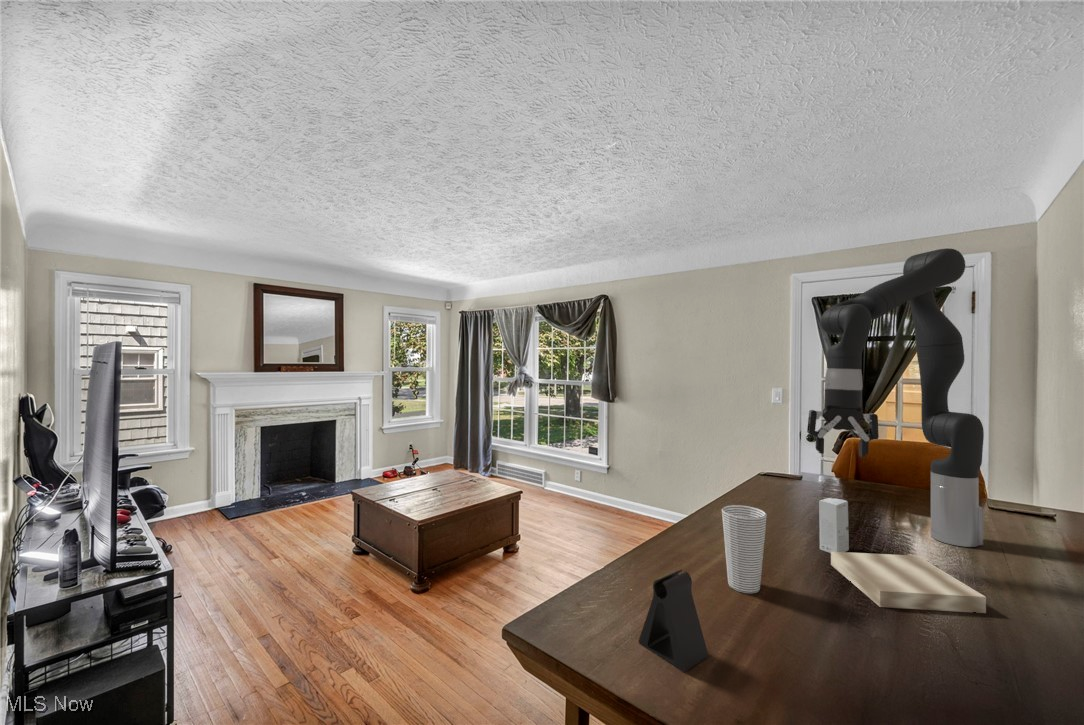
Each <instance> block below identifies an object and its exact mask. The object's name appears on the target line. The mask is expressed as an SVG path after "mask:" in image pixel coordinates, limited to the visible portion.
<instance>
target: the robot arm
mask: <svg viewBox="0 0 1084 725" xmlns="http://www.w3.org/2000/svg"><path fill="white" fill-rule="evenodd" d="M965 260H966V259H965V258H964V255H963V254H962V252H960V251H959V250H957V249H955V248H948V247H947V248H940V249H939V248H938V249H935V250H930V251H926V252H922V253H917V254H914V255H911V256H909V257H908V258H907V259H906V260H905V261H904V263H903V268H902V272H903V273H902V275H901V276H897V277H894V278H891V279H889V280H886V281H883V282H882V283H879V284H876V285H875V286H873V287H871V288H869V289H868V290H866V291H864V292H862V293H861V294H859V295H857V296H855V297H852V298H849V299H846V300H844V301H842V302H839V303H837V304H835V305H832V306H830V307H828V308H827V309H826V310H825V311H824V312H823V314H822V315H821V318H820V322H819V323H820V327H821V329H822V331H824V333H826V334H828V335H832V336H841V335H842V337H841V339H840V341H839V342H838V343H835V344H832V345H830V346H829V347H828V348H827V354H826V372H825V376H824V377H825V378H824V399H823V400H824V401H823V402H824V404H823V406H824V407H823V410H822V411H820V410H815V409H810V410H809V411H808V419H807V428H806V432H807V433H808V434H809V435H810V436H814V437H815V450H816V451H817V452H818V453H819V454H821V455H823V454H824V453H825V438H824V436H825V435H827V433H829V432H831V430H832V429H834V430H837V431H839V430H840V431H841V430H845V431H853V432H854V433H855V434H856V435H857V436H858V438H859V439H860V440H859V441H858V456H859V457H861V458H866V456H868V454H869V445H870V444H869V442H871V441H872V440H878V439H879V435H880V434H879V417H878V414H877V413H876V414H875V413H873V412H870V413H863V412H862V408H863V407H862V405H863V387H864V385H863V384H864V383H863V374H862V372H863V371H862V365H863V363H862V362H863V359H862V358H863V357H862V356H863V350H864V348H865V345H866V343H867V340H868V337H869V335H870V331H871V328H872V324H873V323H872V321H873V320H877V319H878V318H881V317H883V316H884V315H886V314H887V313H889V312H891V311H893V310H894V309H896V308H898V307H899V306H901V305H903V304H905V303H907V302H909V306H910V310H911V316H912V322H913V329H914V330H913V331H914V337H915V347H916V348H915V349H916V357H917V364H918V369H919V370H918V371H919V380H920V381H919V382H920V391H921V430H922V434H923V437H924V438H925V440H926V441H928V443H929V444H931V445H936V446H940V447H946V448H950V453H949V456H947V457H945V458H939V459H934V460H932V461H931V462H930V537H931V538H932V539H934V540H937V541H938V542H942V543H945V544H948V545H952V546H959V547H966V548H975V547H978V546H984V508H983V507H982V506H980V504H979V503H980V500H979V498H980V497H979V496H980V495H979V485H980V484H979V480H980V479H979V477H980V476H979V473H980V470H981V466H982V463H983V450H984V449H983V448H984V440H985V438H984V436H985V434H984V433H985V432H984V426H983V423H982V421H981V420H980V418H979V417H978V416H977V415H975V414H972V413H966V412H965V413H964V412H955V411H950V409H949V404H948V403H949V401H948V399H949V398H948V395H949V392H950V388H951V386H952V384H953V383H954V381H955V380H956V378H957V377H958V375H959V373H960V372H961V371H962V369H963V366H964V363H965V351H964V341H963V336H962V333H961V331H960V330H959V329H958V328H957V327H956V325H955V324H954V323H953V322H952V321H951V320H950V319H949V318H948V317H947V316H946V314H945V313H943V311H942V310H941V309H940V307H939V305H938V304H937V300H936V298H935V293H934V290H936V289H938V288H941V287H943V286H944V287H945V286H947V285H950V284H954V283H956V282H957V281H958V280H960V279H961V278H962V276H963V275H964V273H965V270H966V261H965ZM821 417H822V418H823V419H824V421H825V422H824V423H823V424H822V425H821V426H820V428H818V430H816V426H817V420H819V419H820V418H821ZM863 419H864V420H865V422H866V423H868V434H867V433H866V432H865V430H864V429H863V428H862V426H861V425H860V423H861V422H862V421H863Z"/></svg>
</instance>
